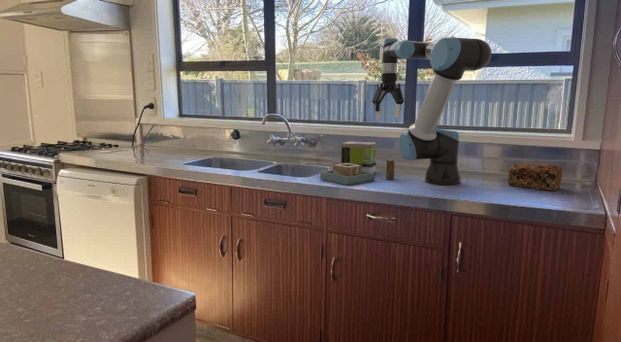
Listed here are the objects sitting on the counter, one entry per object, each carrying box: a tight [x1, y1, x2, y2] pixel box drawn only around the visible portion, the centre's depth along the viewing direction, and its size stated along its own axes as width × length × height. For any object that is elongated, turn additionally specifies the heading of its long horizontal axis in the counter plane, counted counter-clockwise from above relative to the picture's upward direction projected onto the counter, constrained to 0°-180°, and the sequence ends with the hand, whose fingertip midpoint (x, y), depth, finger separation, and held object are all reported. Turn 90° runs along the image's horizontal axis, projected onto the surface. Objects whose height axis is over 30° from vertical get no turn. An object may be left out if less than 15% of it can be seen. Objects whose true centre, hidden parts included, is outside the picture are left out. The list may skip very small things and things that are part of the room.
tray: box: [320, 169, 376, 187], centre depth 202 cm, size 18×17×4 cm
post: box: [385, 159, 395, 181], centre depth 205 cm, size 2×3×9 cm
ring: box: [332, 163, 362, 177], centre depth 201 cm, size 9×12×6 cm
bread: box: [507, 163, 563, 192], centre depth 189 cm, size 19×11×10 cm, turn 47°
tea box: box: [340, 141, 377, 173], centre depth 221 cm, size 15×10×15 cm
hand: (387, 118), depth 216 cm, fingers open, 13 cm apart
